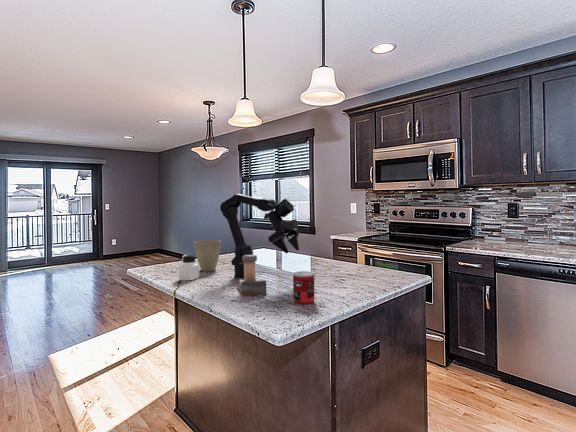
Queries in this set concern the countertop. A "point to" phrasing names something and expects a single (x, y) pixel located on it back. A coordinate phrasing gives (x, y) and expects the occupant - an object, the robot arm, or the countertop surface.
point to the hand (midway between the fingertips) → (293, 251)
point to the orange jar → (249, 267)
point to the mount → (252, 287)
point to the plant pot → (207, 253)
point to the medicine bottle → (188, 268)
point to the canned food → (303, 287)
